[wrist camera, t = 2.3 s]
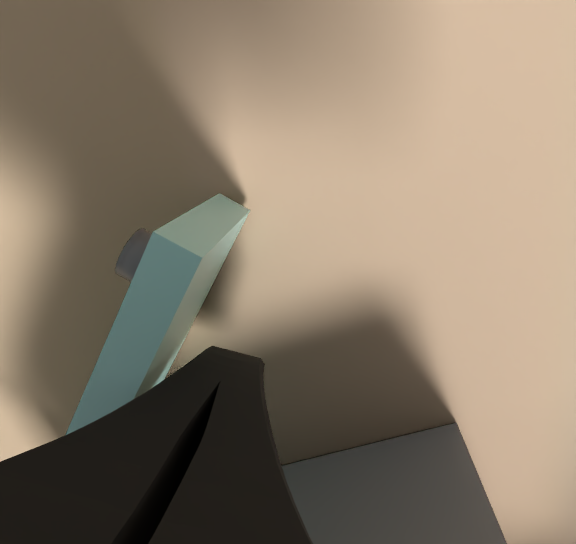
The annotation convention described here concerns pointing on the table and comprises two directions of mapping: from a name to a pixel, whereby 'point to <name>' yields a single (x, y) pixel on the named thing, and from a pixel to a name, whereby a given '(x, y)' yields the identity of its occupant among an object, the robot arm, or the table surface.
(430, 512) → the camera case
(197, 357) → the robot arm
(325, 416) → the table surface
